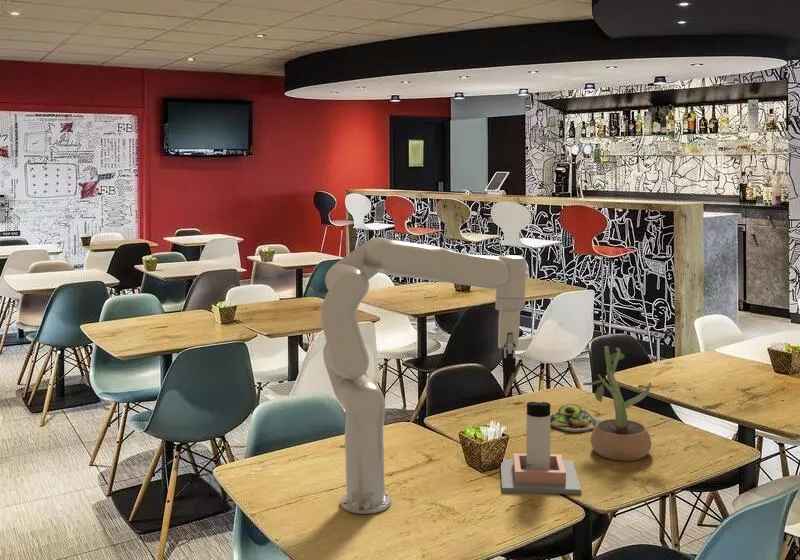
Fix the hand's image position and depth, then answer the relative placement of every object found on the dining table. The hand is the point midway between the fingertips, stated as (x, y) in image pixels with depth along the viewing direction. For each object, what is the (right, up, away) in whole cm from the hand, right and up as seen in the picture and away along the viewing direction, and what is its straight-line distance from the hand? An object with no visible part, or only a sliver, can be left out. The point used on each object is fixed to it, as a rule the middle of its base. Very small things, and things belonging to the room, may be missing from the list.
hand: (508, 368), depth 204 cm
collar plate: (+9, -30, +6) cm, 32 cm away
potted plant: (+35, -27, +26) cm, 51 cm away
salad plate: (+28, -24, +50) cm, 62 cm away
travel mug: (+9, -29, +6) cm, 31 cm away
